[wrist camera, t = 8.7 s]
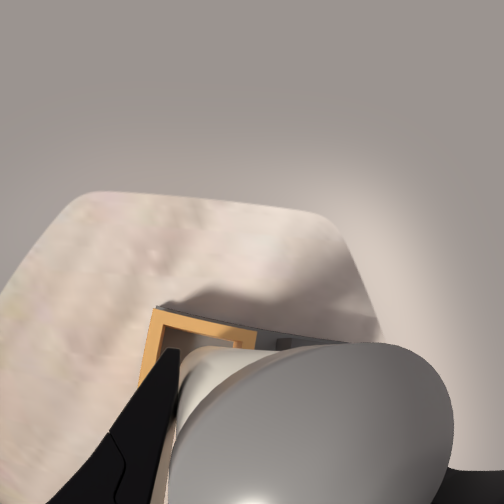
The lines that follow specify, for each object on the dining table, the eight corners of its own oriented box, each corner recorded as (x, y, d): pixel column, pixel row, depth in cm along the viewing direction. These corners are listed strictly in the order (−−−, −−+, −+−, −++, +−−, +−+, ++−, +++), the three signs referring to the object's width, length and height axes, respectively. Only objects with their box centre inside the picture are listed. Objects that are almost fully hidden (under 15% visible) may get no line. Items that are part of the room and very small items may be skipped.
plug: (255, 396, 14) (457, 489, 2) (191, 419, 13) (250, 614, 1) (232, 334, 15) (423, 290, 3) (166, 356, 14) (97, 424, 2)
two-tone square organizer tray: (345, 343, 23) (373, 341, 19) (332, 425, 20) (358, 436, 16) (157, 307, 20) (152, 299, 16) (138, 402, 17) (130, 415, 14)
